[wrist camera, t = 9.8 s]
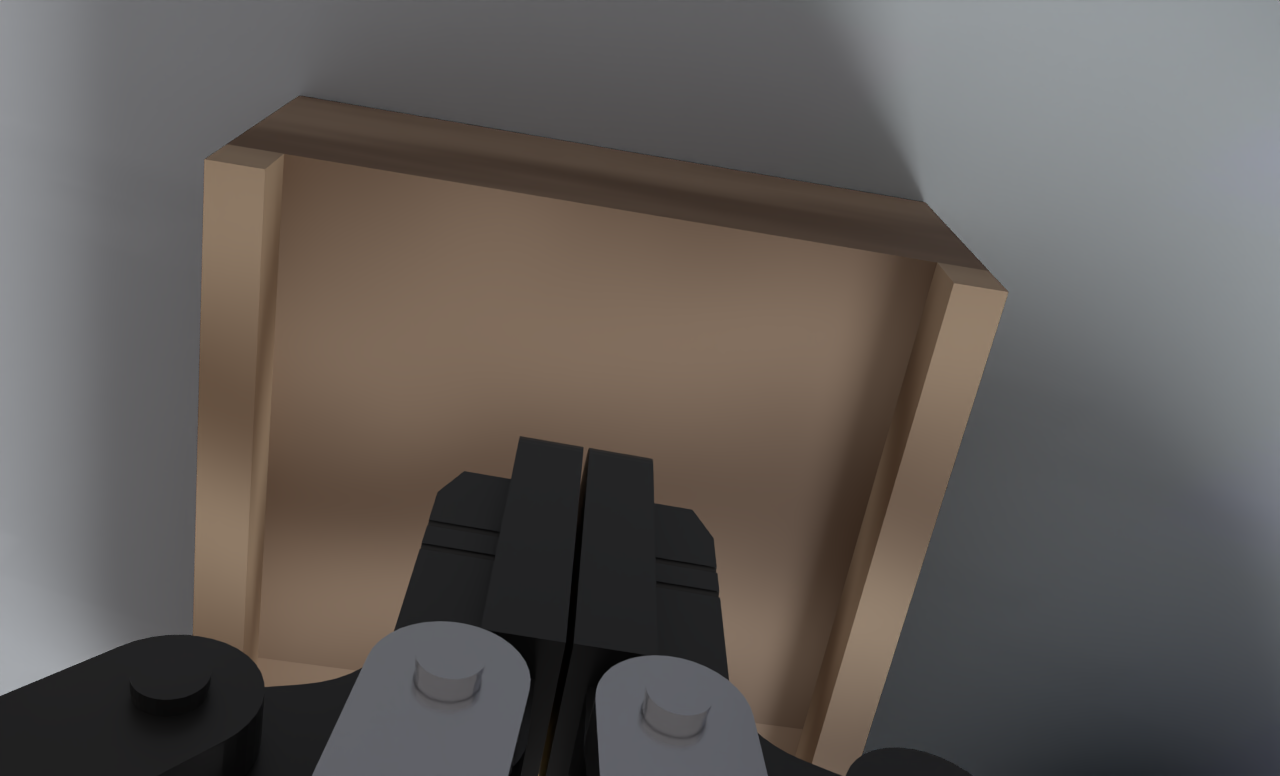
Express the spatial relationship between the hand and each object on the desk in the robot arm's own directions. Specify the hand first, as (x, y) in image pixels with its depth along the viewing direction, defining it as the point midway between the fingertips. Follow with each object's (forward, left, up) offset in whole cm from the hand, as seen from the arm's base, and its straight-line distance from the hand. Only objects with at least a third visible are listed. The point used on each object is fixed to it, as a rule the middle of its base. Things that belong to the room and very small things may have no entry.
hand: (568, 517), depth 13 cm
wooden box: (+9, 0, -14) cm, 17 cm away
